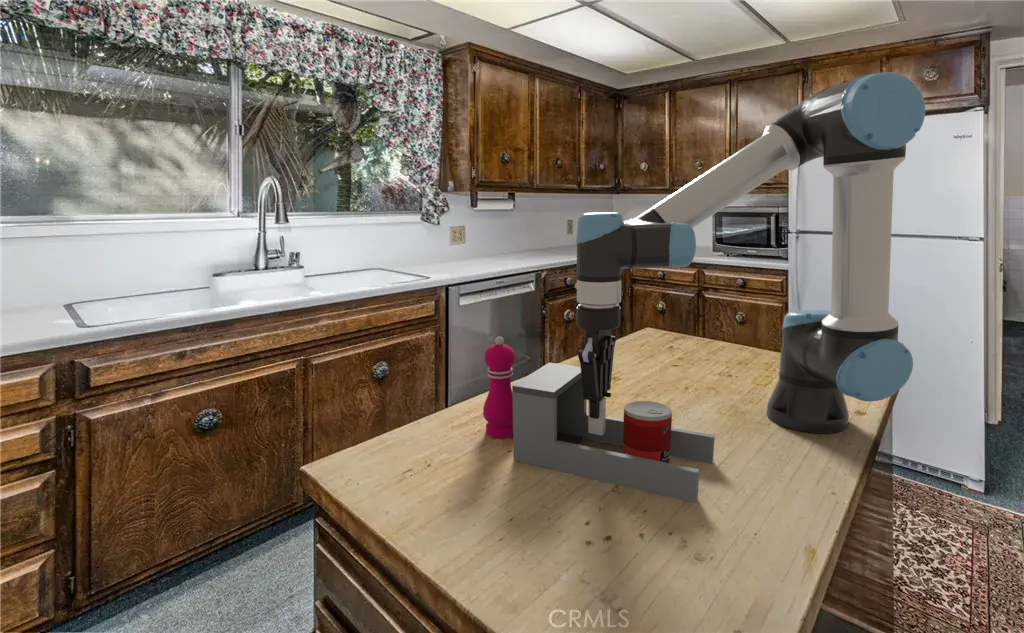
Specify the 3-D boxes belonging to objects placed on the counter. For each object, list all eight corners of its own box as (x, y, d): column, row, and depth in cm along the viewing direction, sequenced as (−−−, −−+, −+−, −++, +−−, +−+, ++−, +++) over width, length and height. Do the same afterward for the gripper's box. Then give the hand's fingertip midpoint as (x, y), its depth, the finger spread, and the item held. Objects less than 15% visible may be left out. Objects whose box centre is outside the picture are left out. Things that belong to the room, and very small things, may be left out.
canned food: (670, 480, 94) (673, 418, 92) (622, 476, 96) (623, 415, 93) (667, 459, 102) (670, 401, 99) (622, 456, 103) (624, 399, 101)
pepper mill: (493, 443, 110) (490, 343, 105) (477, 429, 116) (474, 335, 112) (525, 435, 113) (524, 338, 109) (509, 422, 119) (507, 330, 115)
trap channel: (713, 461, 101) (717, 385, 98) (696, 502, 87) (701, 416, 84) (549, 429, 116) (549, 362, 113) (513, 460, 102) (512, 385, 99)
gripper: (591, 296, 104) (590, 416, 109) (563, 309, 93) (563, 442, 98) (631, 299, 101) (627, 423, 106) (606, 312, 90) (604, 451, 95)
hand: (596, 432), depth 102 cm, fingers closed
